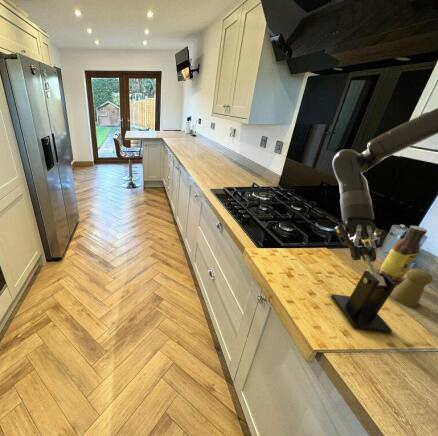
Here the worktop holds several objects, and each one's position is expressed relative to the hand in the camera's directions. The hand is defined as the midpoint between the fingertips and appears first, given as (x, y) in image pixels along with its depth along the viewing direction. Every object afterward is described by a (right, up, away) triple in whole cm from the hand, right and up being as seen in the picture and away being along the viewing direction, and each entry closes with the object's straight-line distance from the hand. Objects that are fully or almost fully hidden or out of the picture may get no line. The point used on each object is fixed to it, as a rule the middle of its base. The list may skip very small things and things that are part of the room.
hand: (364, 260), depth 69 cm
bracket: (-2, -16, 0) cm, 16 cm away
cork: (+19, -14, +6) cm, 24 cm away
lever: (0, -2, -1) cm, 2 cm away
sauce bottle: (+25, -9, +17) cm, 31 cm away
